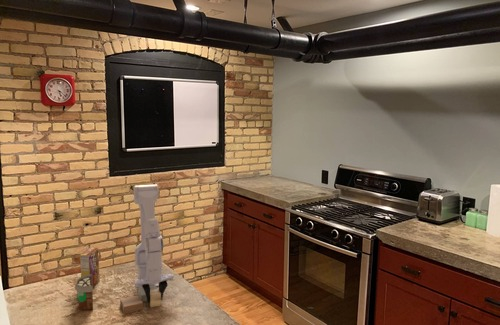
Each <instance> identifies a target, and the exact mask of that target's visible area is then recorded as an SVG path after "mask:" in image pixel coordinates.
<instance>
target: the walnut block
mask: <svg viewBox="0 0 500 325" xmlns="http://www.w3.org/2000/svg"><path fill="white" fill-rule="evenodd" d="M119 300H120V302H119V304H120V308H121V310H122V312H123V314H129V313H133V312H138V311H141V310H143V309H144V307H143V306H144V302H142V300H141V298H140V297H139V295H138V294H135V295H131V296H127V297H122V298H119Z"/></svg>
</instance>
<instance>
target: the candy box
mask: <svg viewBox="0 0 500 325" xmlns="http://www.w3.org/2000/svg"><path fill="white" fill-rule="evenodd" d="M79 261H80V276H81V277H83V276H86V275H90V274H92V289H94V287H95V286H97V284H98V283H99V282H100V281H101V277H100V276H101V275H100V274H101V273H100V258H99V248H98V247H89V248H88V249H86V250H84V252H82V253H80V255H79ZM81 277H80V278H81Z"/></svg>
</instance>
